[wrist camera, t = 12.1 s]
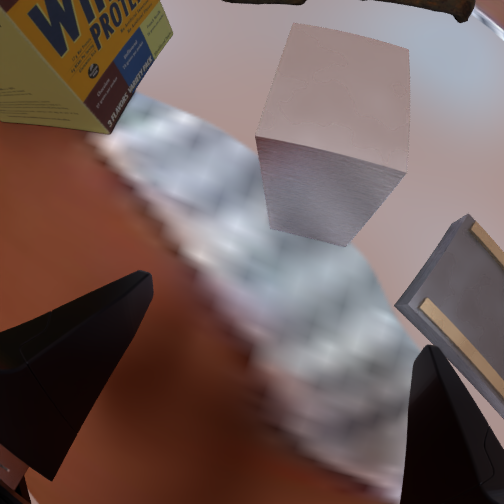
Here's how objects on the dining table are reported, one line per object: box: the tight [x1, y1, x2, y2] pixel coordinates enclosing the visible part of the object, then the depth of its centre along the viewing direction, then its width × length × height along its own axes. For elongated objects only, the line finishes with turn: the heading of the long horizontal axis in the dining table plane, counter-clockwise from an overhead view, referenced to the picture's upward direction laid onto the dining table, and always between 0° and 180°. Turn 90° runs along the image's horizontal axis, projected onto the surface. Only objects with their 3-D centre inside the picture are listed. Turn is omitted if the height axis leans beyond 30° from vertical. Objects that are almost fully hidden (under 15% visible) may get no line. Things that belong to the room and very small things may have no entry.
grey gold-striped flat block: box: [394, 214, 504, 419], centre depth 13 cm, size 12×6×2 cm, turn 47°
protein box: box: [0, 0, 173, 134], centre depth 13 cm, size 10×15×16 cm
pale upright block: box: [255, 23, 410, 247], centre depth 12 cm, size 4×5×9 cm
